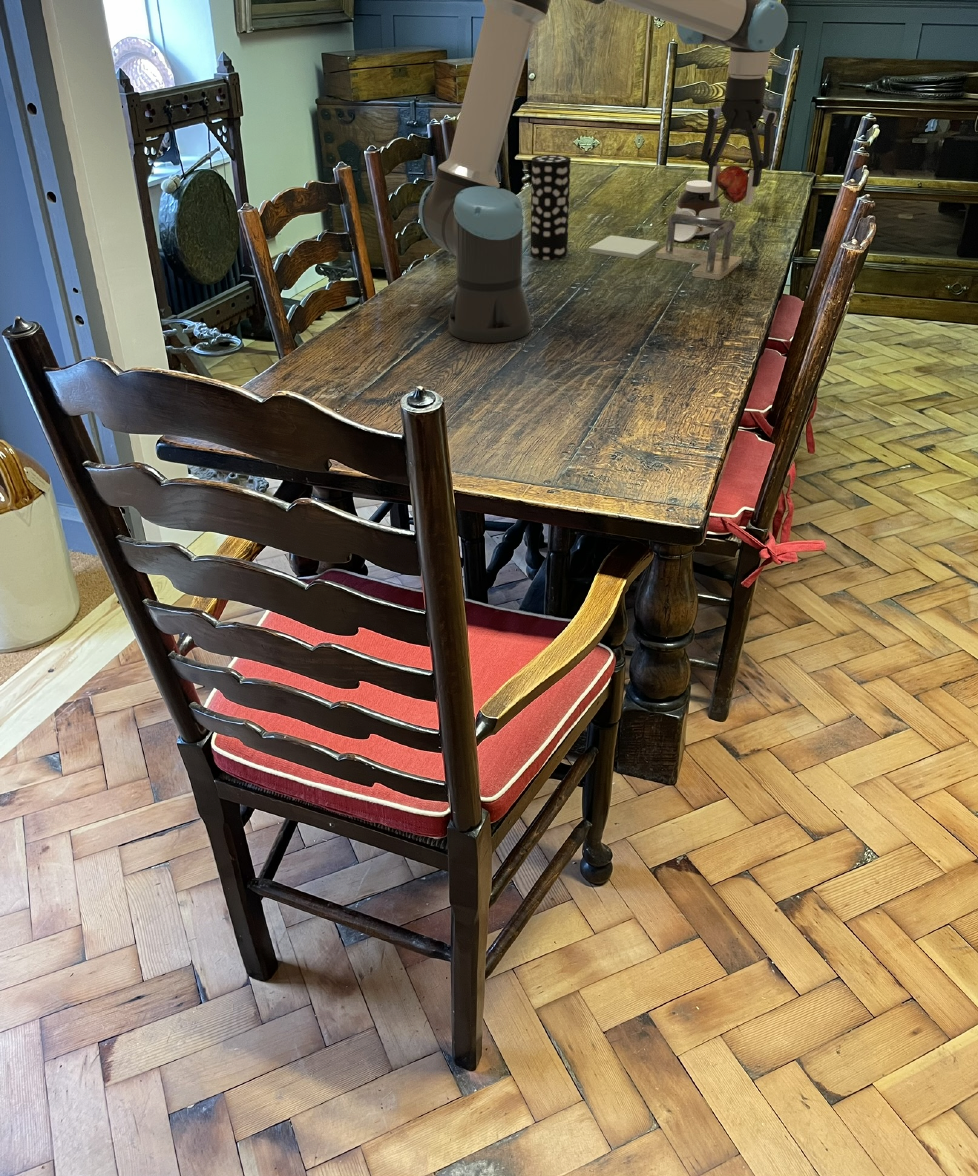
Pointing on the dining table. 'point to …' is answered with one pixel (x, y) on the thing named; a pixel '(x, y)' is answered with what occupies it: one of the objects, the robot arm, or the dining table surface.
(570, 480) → the dining table surface
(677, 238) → the spread jar
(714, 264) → the buzz wire
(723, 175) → the pomegranate
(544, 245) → the white-spotted black cylinder
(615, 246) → the pad
